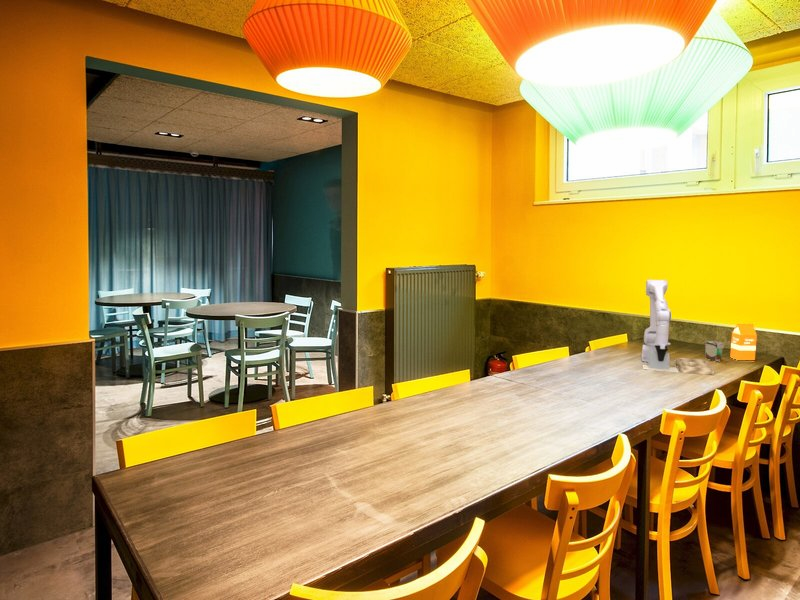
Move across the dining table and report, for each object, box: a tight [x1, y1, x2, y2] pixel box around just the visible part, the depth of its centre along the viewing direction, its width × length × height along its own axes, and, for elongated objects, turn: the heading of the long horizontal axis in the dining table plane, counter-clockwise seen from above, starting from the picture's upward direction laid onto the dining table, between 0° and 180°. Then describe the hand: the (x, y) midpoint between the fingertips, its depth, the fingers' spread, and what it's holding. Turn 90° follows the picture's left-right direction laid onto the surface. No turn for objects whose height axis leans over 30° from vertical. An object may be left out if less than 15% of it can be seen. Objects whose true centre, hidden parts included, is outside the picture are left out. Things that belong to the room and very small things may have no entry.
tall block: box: [647, 351, 671, 370], centre depth 265 cm, size 3×9×8 cm, turn 68°
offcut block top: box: [689, 362, 701, 368], centre depth 259 cm, size 5×4×2 cm
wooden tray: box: [675, 357, 715, 375], centre depth 266 cm, size 14×22×4 cm, turn 158°
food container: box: [704, 340, 725, 363], centre depth 285 cm, size 12×6×10 cm, turn 179°
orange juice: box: [729, 323, 757, 361], centre depth 287 cm, size 8×9×20 cm
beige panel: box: [641, 364, 680, 374], centre depth 265 cm, size 16×10×1 cm, turn 68°
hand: (660, 360), depth 265 cm, fingers open, 3 cm apart
